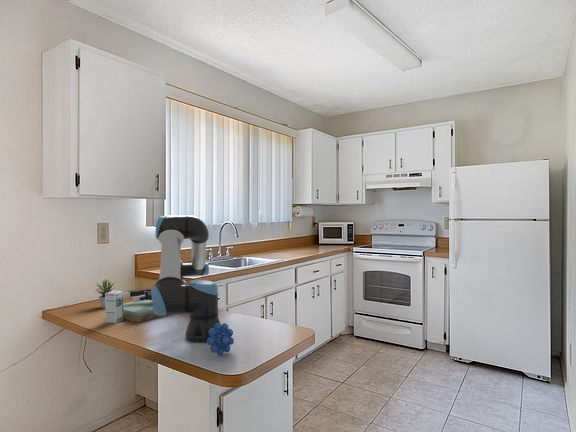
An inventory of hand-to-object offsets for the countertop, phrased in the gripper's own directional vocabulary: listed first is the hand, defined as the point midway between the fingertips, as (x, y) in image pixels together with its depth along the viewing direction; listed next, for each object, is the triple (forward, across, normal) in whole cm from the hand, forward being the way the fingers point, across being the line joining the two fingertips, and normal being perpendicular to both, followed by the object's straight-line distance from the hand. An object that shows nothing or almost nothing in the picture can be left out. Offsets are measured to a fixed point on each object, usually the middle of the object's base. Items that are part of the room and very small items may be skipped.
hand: (125, 298), depth 182 cm
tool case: (-10, 0, -10) cm, 14 cm away
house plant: (-7, +33, -10) cm, 35 cm away
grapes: (+9, -77, -10) cm, 78 cm away
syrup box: (+6, 0, -10) cm, 12 cm away
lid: (-10, 0, -7) cm, 12 cm away
